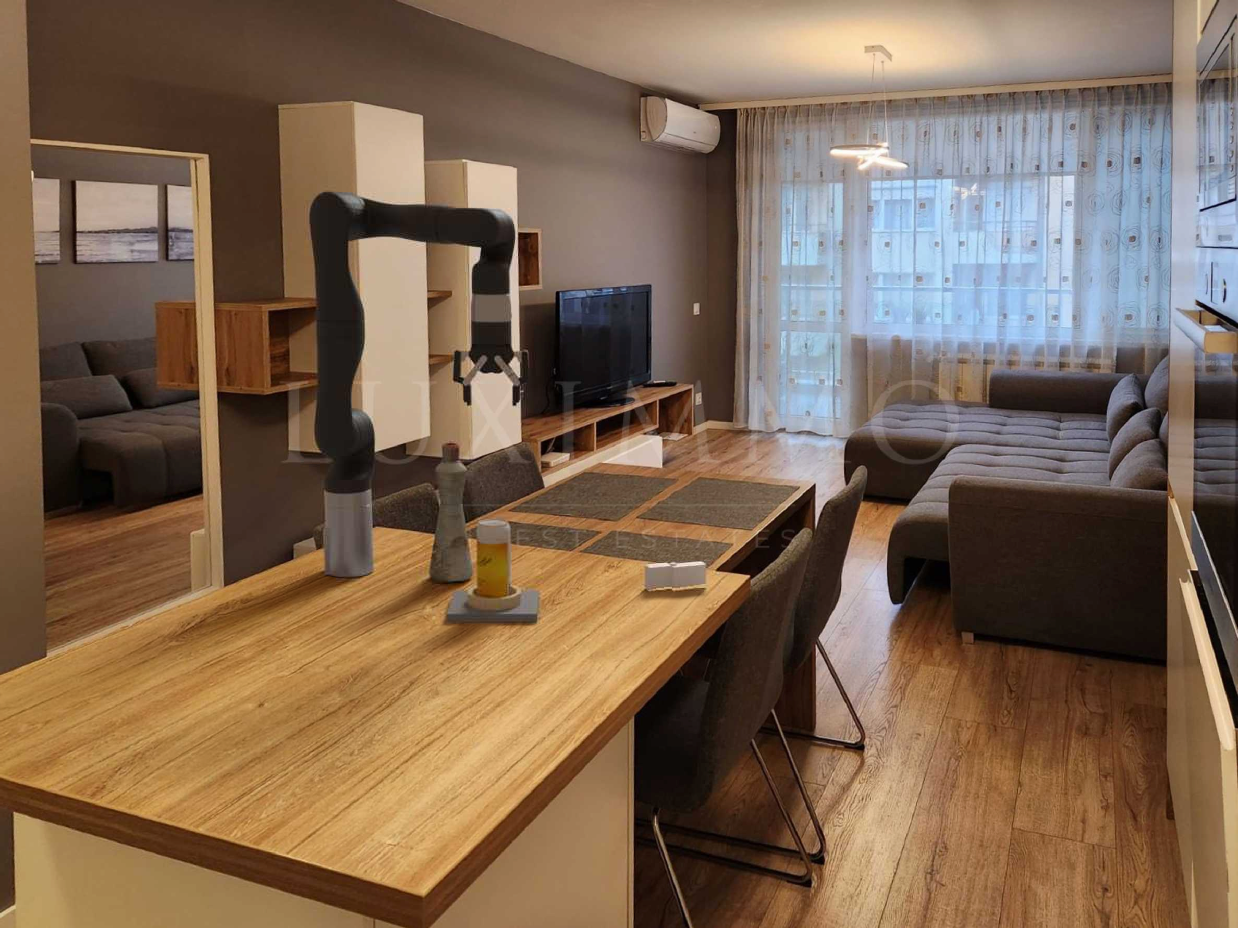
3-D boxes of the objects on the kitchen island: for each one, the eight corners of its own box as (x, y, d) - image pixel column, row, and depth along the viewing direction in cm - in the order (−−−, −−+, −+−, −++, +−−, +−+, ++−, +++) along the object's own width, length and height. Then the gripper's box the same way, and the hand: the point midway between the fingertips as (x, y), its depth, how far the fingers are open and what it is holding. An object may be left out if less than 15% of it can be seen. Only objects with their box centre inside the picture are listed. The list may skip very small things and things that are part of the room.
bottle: (437, 587, 217) (434, 446, 212) (423, 575, 225) (420, 439, 219) (479, 582, 221) (478, 443, 215) (464, 570, 229) (462, 436, 223)
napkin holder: (716, 586, 222) (717, 558, 221) (702, 602, 211) (702, 573, 210) (644, 578, 226) (645, 551, 225) (627, 594, 216) (627, 565, 215)
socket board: (446, 622, 197) (446, 603, 196) (454, 597, 211) (454, 580, 210) (537, 621, 198) (537, 603, 197) (539, 597, 211) (539, 579, 211)
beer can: (477, 596, 206) (477, 518, 204) (510, 596, 207) (510, 517, 204) (476, 606, 201) (475, 526, 198) (510, 606, 201) (510, 526, 198)
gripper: (450, 319, 202) (451, 408, 205) (528, 320, 203) (529, 408, 206) (454, 317, 210) (456, 402, 213) (530, 318, 210) (530, 402, 213)
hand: (492, 405), depth 209 cm, fingers open, 8 cm apart
